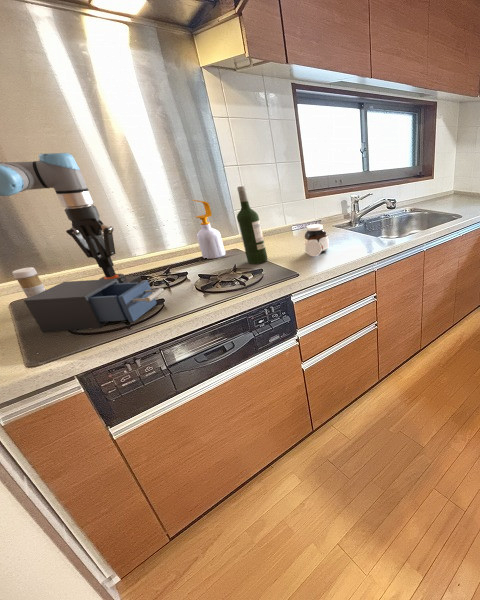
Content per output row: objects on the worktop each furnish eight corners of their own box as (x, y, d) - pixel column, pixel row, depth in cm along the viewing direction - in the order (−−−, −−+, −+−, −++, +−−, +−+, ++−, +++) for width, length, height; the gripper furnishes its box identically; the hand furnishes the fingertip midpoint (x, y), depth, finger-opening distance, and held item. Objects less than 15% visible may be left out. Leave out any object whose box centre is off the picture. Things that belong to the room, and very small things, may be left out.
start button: (102, 283, 111) (100, 279, 111) (110, 279, 115) (108, 274, 114) (115, 283, 112) (113, 278, 111) (122, 278, 115) (120, 274, 114)
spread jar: (325, 247, 152) (322, 222, 147) (334, 253, 144) (331, 227, 139) (300, 252, 146) (296, 226, 141) (308, 258, 138) (304, 231, 133)
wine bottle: (268, 262, 135) (251, 187, 122) (247, 265, 132) (228, 188, 119) (267, 257, 141) (251, 185, 128) (248, 259, 139) (230, 186, 126)
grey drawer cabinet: (129, 307, 100) (117, 278, 96) (100, 328, 89) (84, 296, 84) (79, 310, 99) (63, 281, 94) (42, 332, 87) (23, 300, 83)
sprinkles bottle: (54, 305, 102) (32, 265, 96) (58, 309, 100) (35, 268, 94) (34, 311, 99) (10, 270, 93) (37, 315, 96) (12, 273, 90)
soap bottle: (199, 257, 144) (181, 200, 133) (219, 251, 150) (203, 197, 140) (209, 260, 139) (192, 201, 128) (229, 255, 146) (214, 198, 135)
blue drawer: (173, 302, 100) (165, 279, 97) (152, 320, 90) (141, 295, 86) (110, 306, 98) (99, 283, 95) (81, 325, 88) (67, 299, 85)
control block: (87, 294, 109) (81, 283, 108) (107, 283, 118) (103, 273, 117) (124, 292, 110) (120, 281, 109) (142, 281, 119) (138, 271, 118)
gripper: (109, 203, 106) (137, 270, 116) (66, 205, 105) (98, 273, 115) (92, 207, 99) (123, 278, 110) (46, 209, 98) (82, 281, 109)
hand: (111, 275), depth 112 cm, fingers closed
